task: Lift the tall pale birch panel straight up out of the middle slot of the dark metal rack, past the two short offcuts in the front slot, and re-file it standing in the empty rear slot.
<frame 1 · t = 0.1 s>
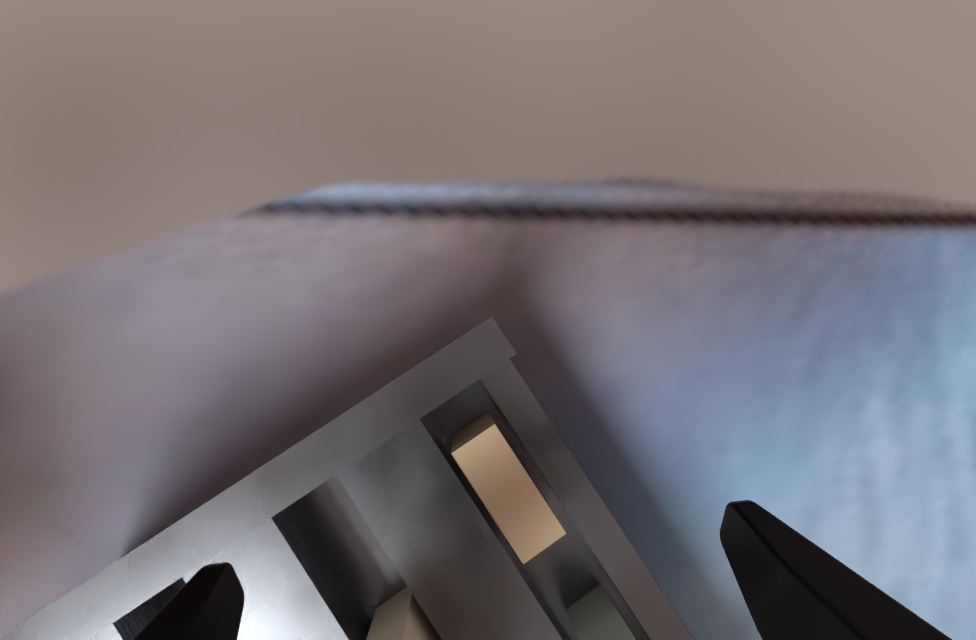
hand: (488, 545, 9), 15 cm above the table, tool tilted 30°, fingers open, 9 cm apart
offcut b: (499, 469, 22), point 1 cm above the table, touching rack
rack: (432, 639, 23), on the table
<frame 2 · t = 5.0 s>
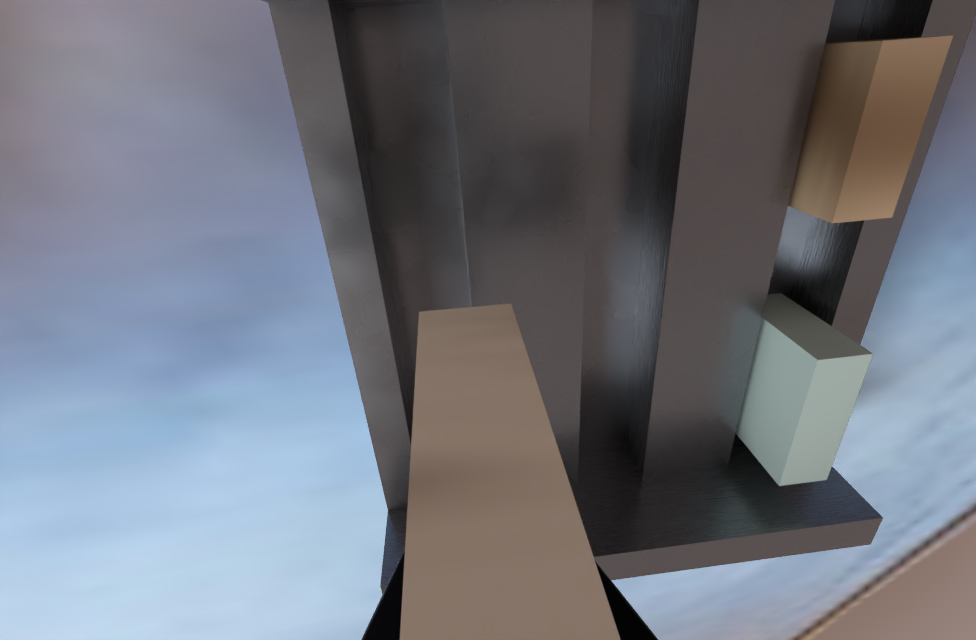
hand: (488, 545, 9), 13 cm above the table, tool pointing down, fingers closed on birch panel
offcut a: (746, 354, 22), point 1 cm above the table, touching rack
birch panel: (474, 416, 12), point 9 cm above the table, touching gripper
offcut b: (797, 122, 18), point 1 cm above the table, touching rack
rack: (595, 259, 20), on the table
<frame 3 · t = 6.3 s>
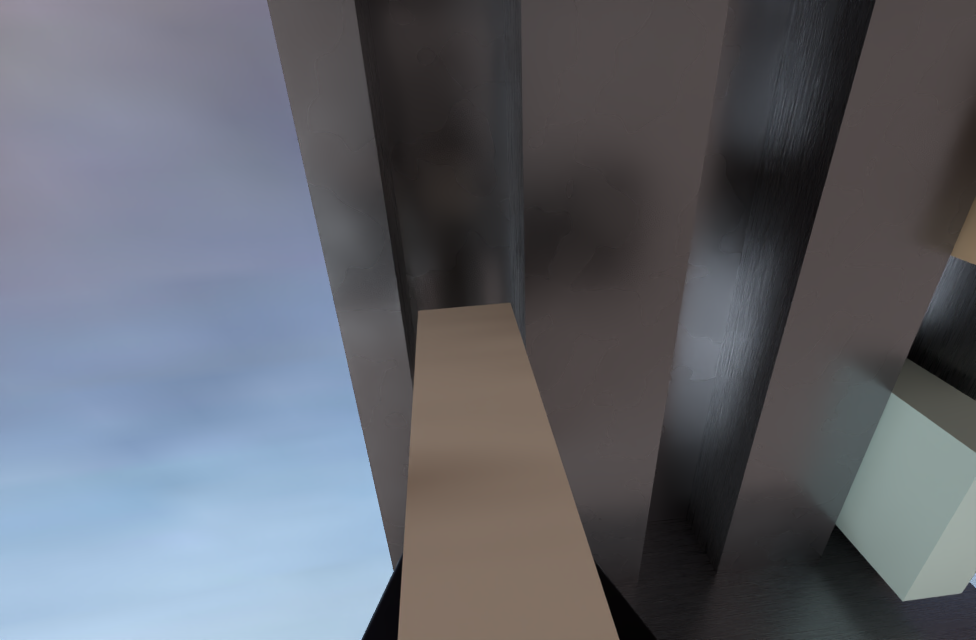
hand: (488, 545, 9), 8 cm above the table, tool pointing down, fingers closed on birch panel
offcut a: (842, 420, 18), point 1 cm above the table, touching rack
birch panel: (473, 415, 12), point 5 cm above the table, touching gripper
offcut b: (949, 142, 14), point 1 cm above the table, touching rack
rack: (669, 307, 16), on the table
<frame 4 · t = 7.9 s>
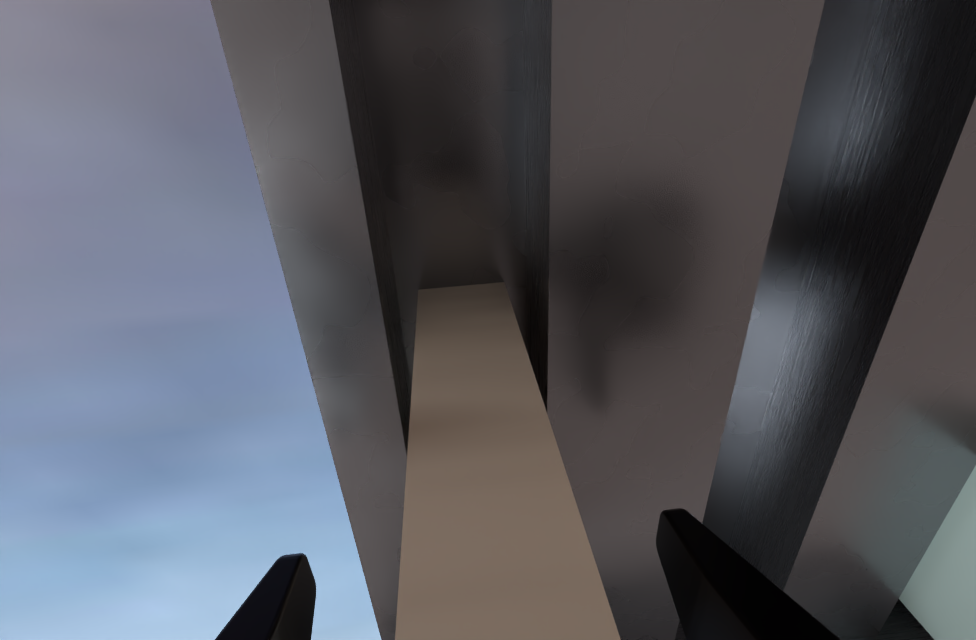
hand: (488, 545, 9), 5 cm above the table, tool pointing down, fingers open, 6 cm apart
offcut a: (902, 475, 16), point 1 cm above the table, touching rack
birch panel: (470, 390, 13), point 1 cm above the table, touching rack
rack: (708, 350, 14), on the table
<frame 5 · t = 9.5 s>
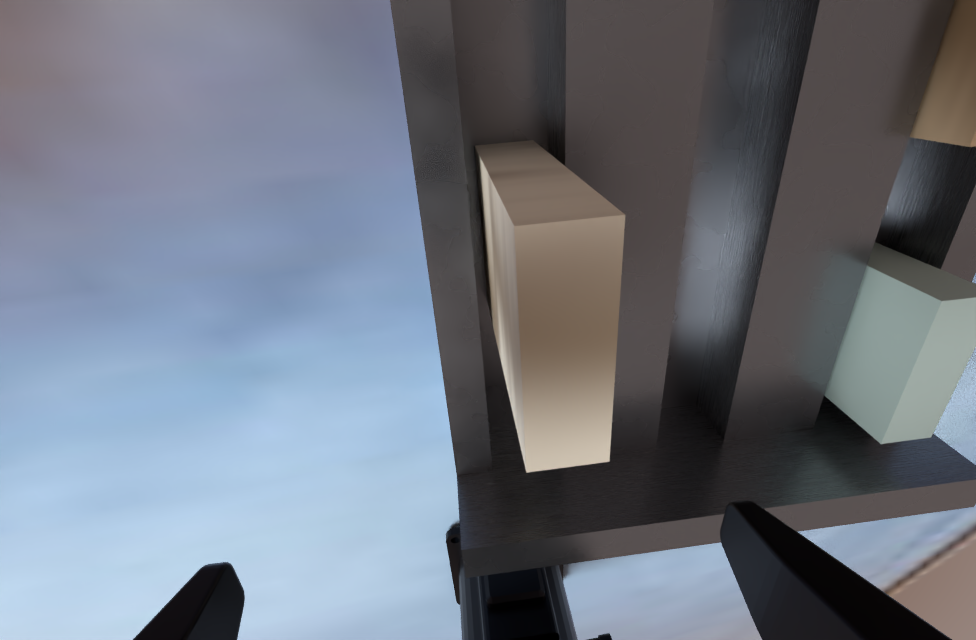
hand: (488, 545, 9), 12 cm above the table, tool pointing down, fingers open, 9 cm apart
offcut a: (831, 309, 21), point 1 cm above the table, touching rack
birch panel: (508, 228, 18), point 1 cm above the table, touching rack
offcut b: (912, 47, 16), point 1 cm above the table, touching rack
rack: (679, 206, 19), on the table
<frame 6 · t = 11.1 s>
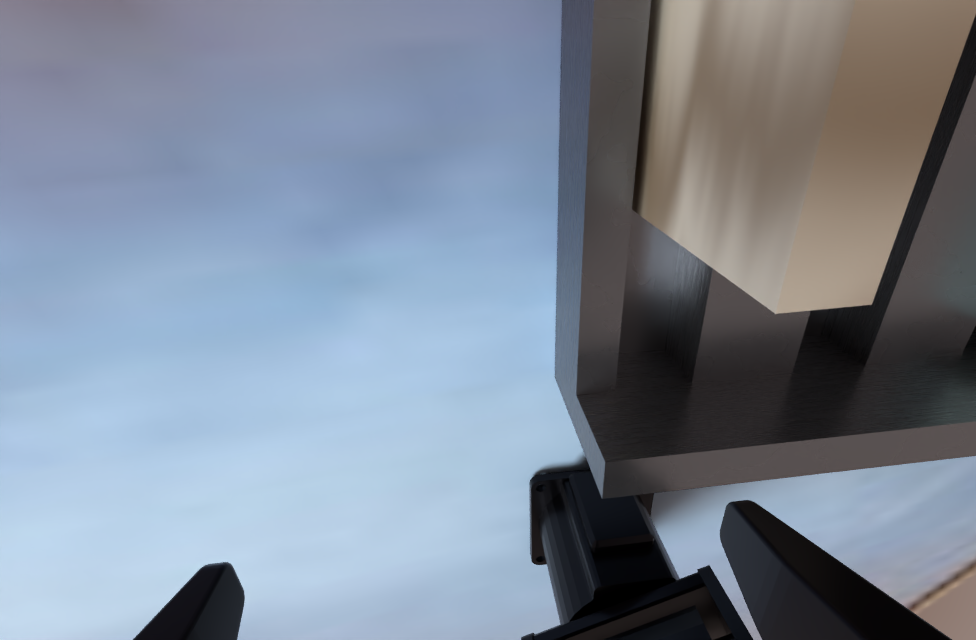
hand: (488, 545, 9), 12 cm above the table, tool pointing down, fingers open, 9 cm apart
birch panel: (655, 108, 16), point 1 cm above the table, touching rack
rack: (832, 98, 17), on the table
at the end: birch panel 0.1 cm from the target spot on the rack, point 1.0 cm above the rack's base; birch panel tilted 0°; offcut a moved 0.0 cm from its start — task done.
